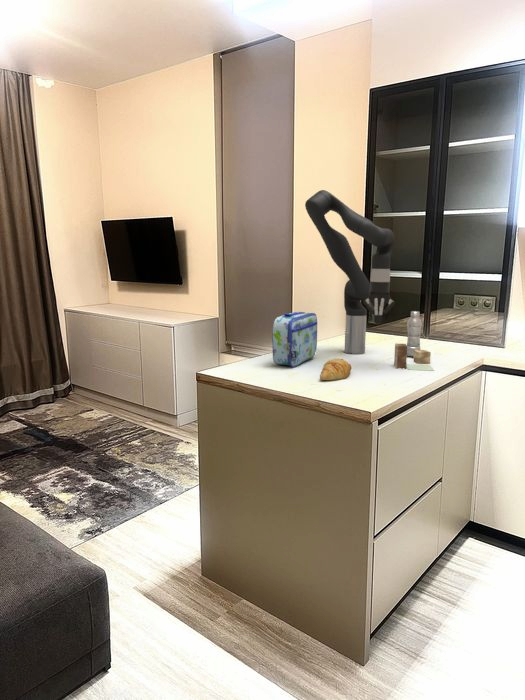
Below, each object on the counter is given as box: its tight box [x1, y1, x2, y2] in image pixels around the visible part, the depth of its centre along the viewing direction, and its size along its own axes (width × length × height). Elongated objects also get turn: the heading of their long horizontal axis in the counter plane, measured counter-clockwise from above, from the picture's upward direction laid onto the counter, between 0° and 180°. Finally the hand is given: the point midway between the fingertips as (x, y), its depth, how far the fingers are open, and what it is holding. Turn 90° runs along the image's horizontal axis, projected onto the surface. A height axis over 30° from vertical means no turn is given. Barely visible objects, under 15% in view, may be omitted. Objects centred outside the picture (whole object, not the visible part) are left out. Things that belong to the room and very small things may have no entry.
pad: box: [406, 363, 435, 372], centre depth 208 cm, size 10×10×1 cm
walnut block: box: [393, 343, 408, 370], centre depth 208 cm, size 4×6×9 cm, turn 172°
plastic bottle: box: [406, 310, 423, 358], centre depth 228 cm, size 6×7×20 cm
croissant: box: [319, 358, 352, 381], centre depth 192 cm, size 21×10×8 cm, turn 145°
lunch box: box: [271, 311, 318, 368], centre depth 215 cm, size 26×11×21 cm, turn 150°
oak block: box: [413, 349, 432, 365], centre depth 217 cm, size 5×5×5 cm
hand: (377, 324), depth 207 cm, fingers closed
